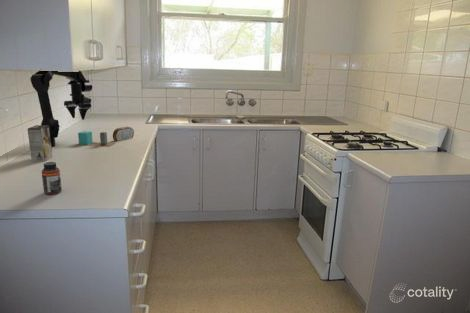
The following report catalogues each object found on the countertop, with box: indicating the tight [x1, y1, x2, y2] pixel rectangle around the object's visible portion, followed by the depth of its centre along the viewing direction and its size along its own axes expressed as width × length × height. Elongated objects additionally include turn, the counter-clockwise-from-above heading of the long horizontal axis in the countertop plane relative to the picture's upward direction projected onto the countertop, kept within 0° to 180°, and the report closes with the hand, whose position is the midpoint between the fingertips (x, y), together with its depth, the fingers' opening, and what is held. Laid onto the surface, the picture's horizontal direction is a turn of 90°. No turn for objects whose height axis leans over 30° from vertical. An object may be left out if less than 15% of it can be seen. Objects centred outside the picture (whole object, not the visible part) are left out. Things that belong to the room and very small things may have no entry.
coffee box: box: [27, 124, 53, 162], centre depth 175 cm, size 9×6×16 cm
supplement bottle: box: [41, 161, 63, 196], centre depth 133 cm, size 6×6×11 cm
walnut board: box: [75, 141, 116, 148], centre depth 205 cm, size 9×20×1 cm, turn 82°
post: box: [99, 131, 108, 145], centre depth 203 cm, size 3×3×7 cm
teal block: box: [77, 130, 94, 146], centre depth 205 cm, size 5×5×7 cm
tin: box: [112, 126, 135, 142], centre depth 219 cm, size 15×3×8 cm, turn 150°
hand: (78, 118), depth 216 cm, fingers open, 9 cm apart
